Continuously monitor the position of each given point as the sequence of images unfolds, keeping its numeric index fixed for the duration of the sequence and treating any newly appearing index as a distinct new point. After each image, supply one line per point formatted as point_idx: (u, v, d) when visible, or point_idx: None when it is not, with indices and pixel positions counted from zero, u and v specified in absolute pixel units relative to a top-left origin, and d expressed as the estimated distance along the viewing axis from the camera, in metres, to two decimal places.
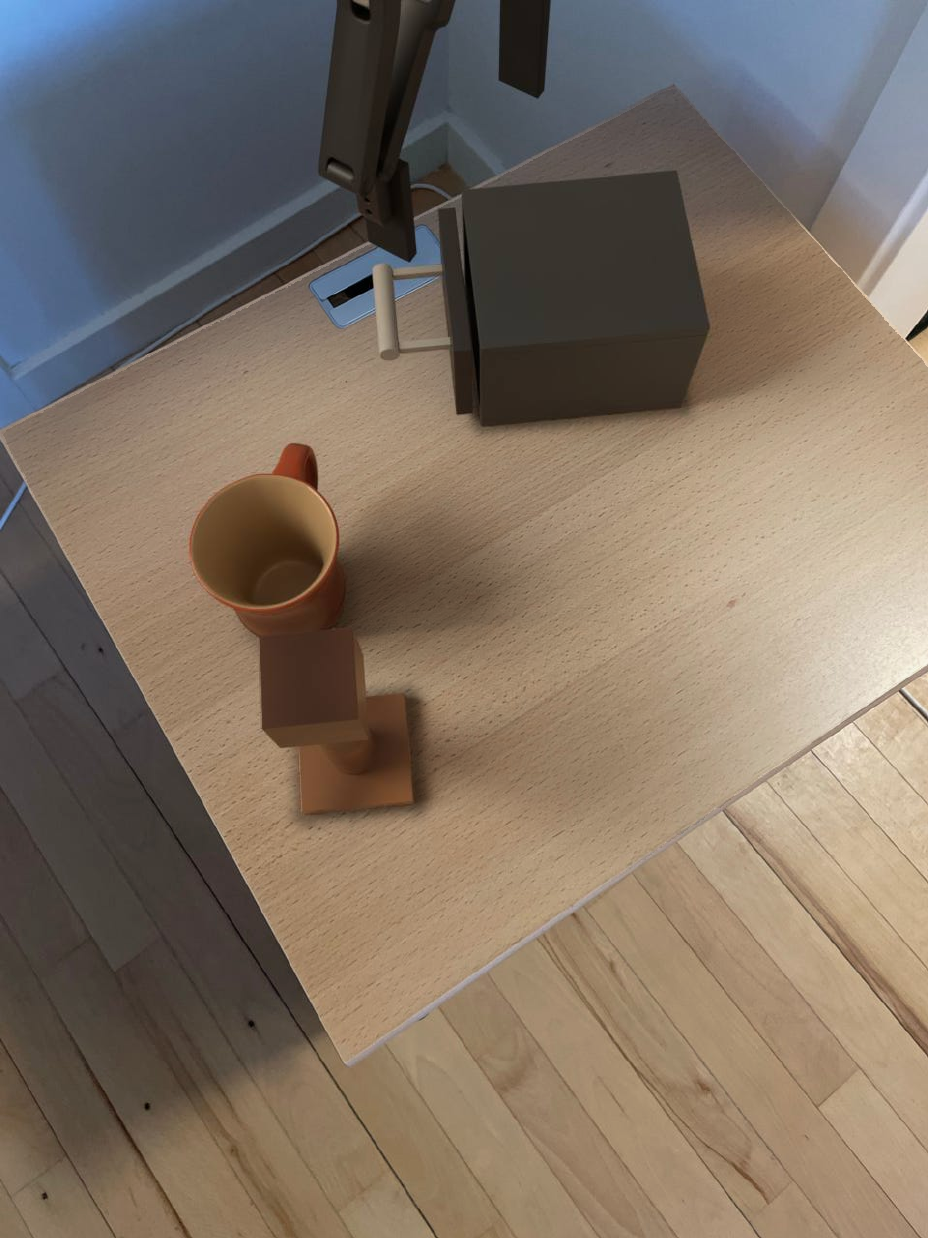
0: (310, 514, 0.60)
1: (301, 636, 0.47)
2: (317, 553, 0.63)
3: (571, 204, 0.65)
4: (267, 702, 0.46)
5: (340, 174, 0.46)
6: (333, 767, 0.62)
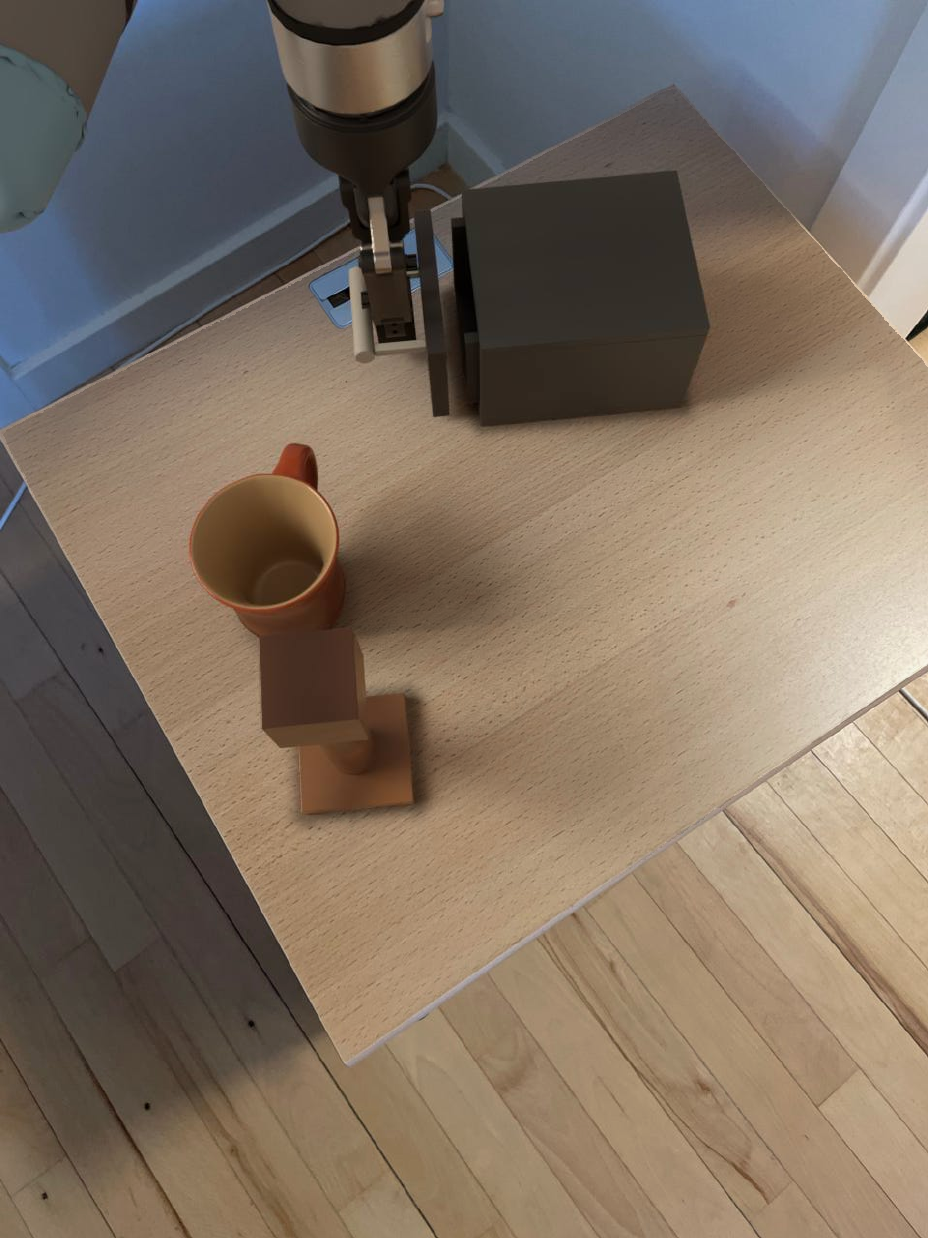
0: (310, 514, 0.60)
1: (301, 636, 0.47)
2: (317, 553, 0.63)
3: (571, 204, 0.65)
4: (267, 702, 0.46)
5: None
6: (333, 767, 0.62)
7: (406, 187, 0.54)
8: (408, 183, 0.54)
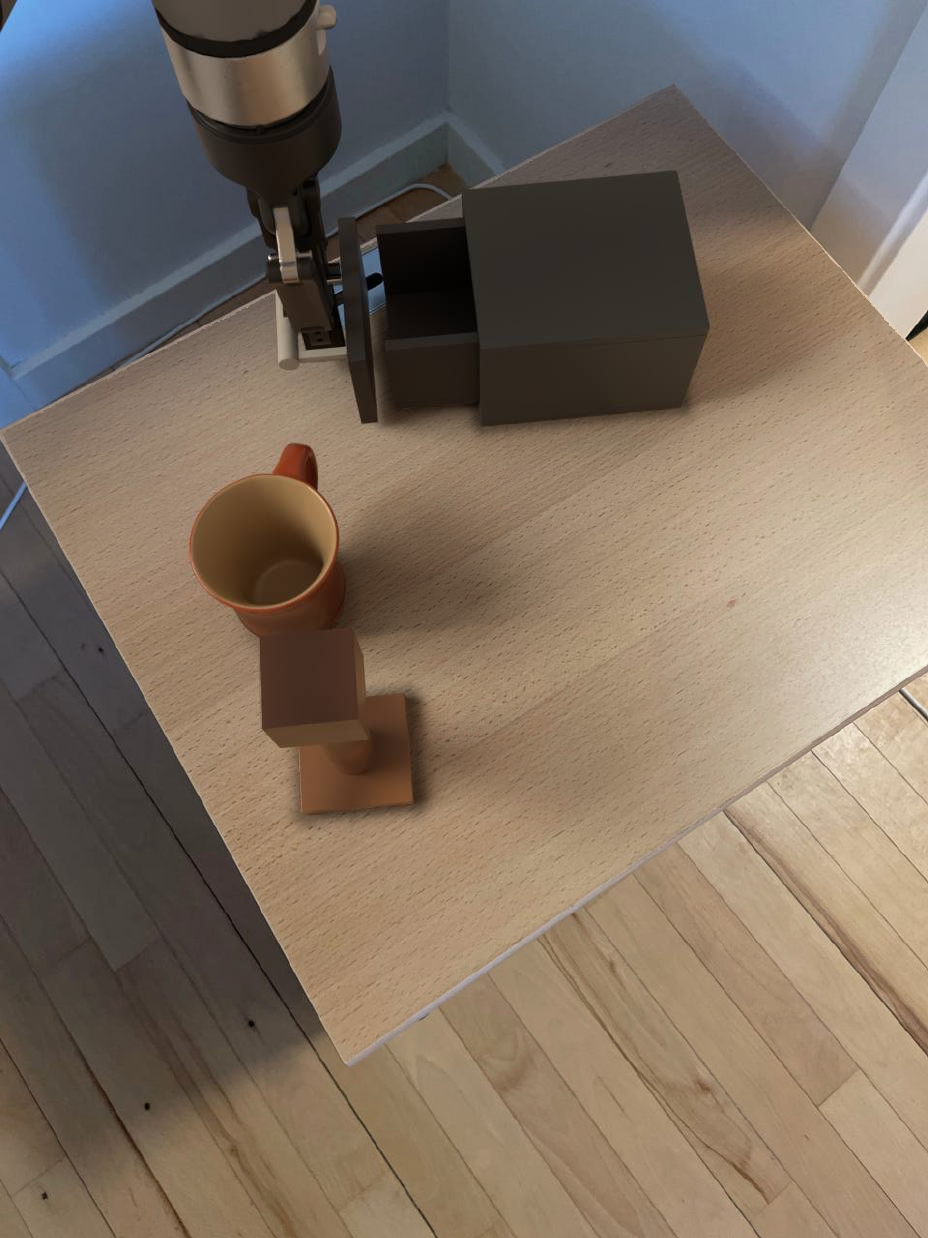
0: (310, 514, 0.60)
1: (301, 636, 0.47)
2: (317, 553, 0.63)
3: (571, 204, 0.65)
4: (267, 702, 0.46)
5: None
6: (333, 767, 0.62)
7: (314, 197, 0.54)
8: (316, 193, 0.54)
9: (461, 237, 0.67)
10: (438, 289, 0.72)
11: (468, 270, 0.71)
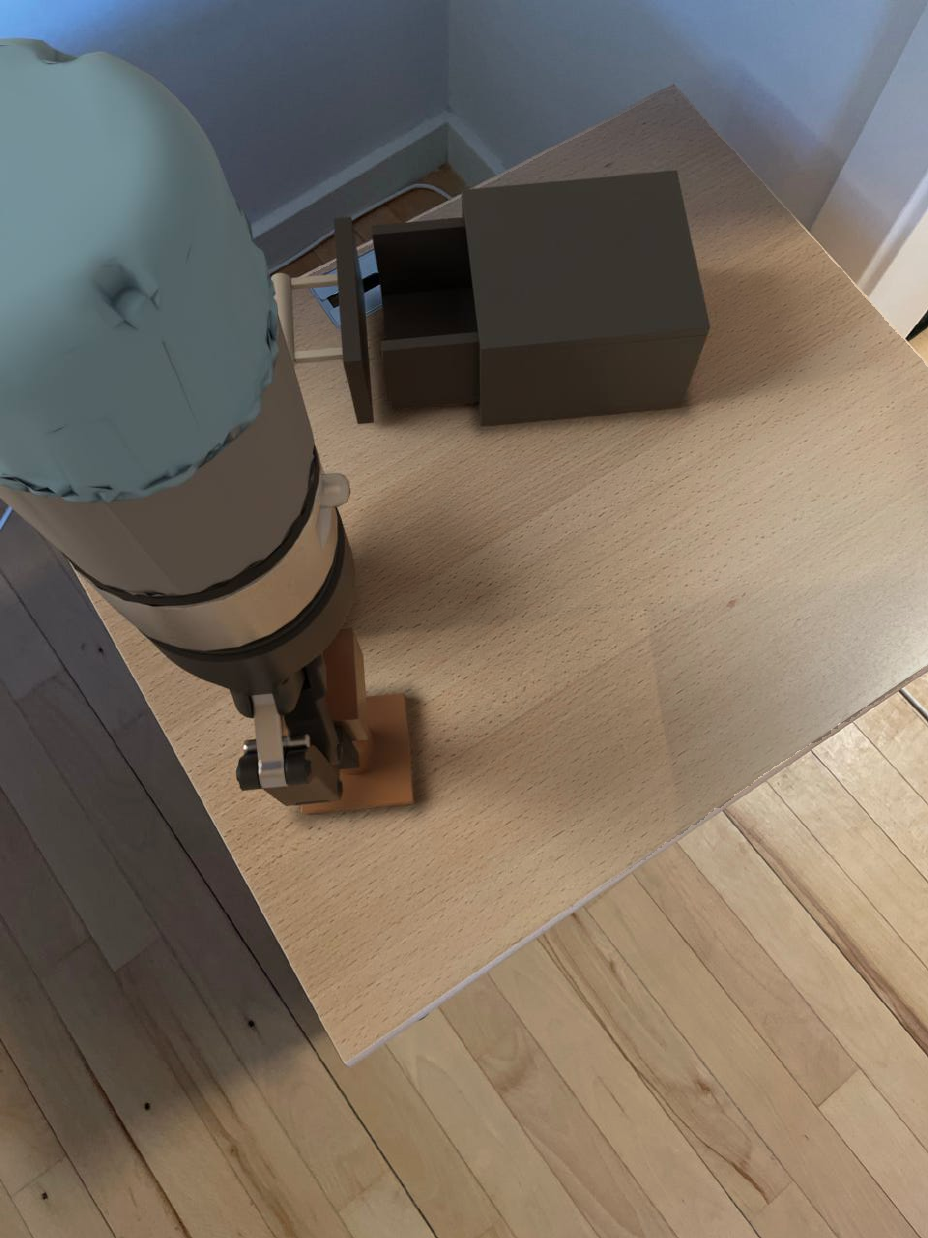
0: None
1: None
2: None
3: (571, 204, 0.65)
4: None
5: None
6: None
7: None
8: None
9: (457, 237, 0.67)
10: (434, 289, 0.72)
11: (464, 270, 0.71)
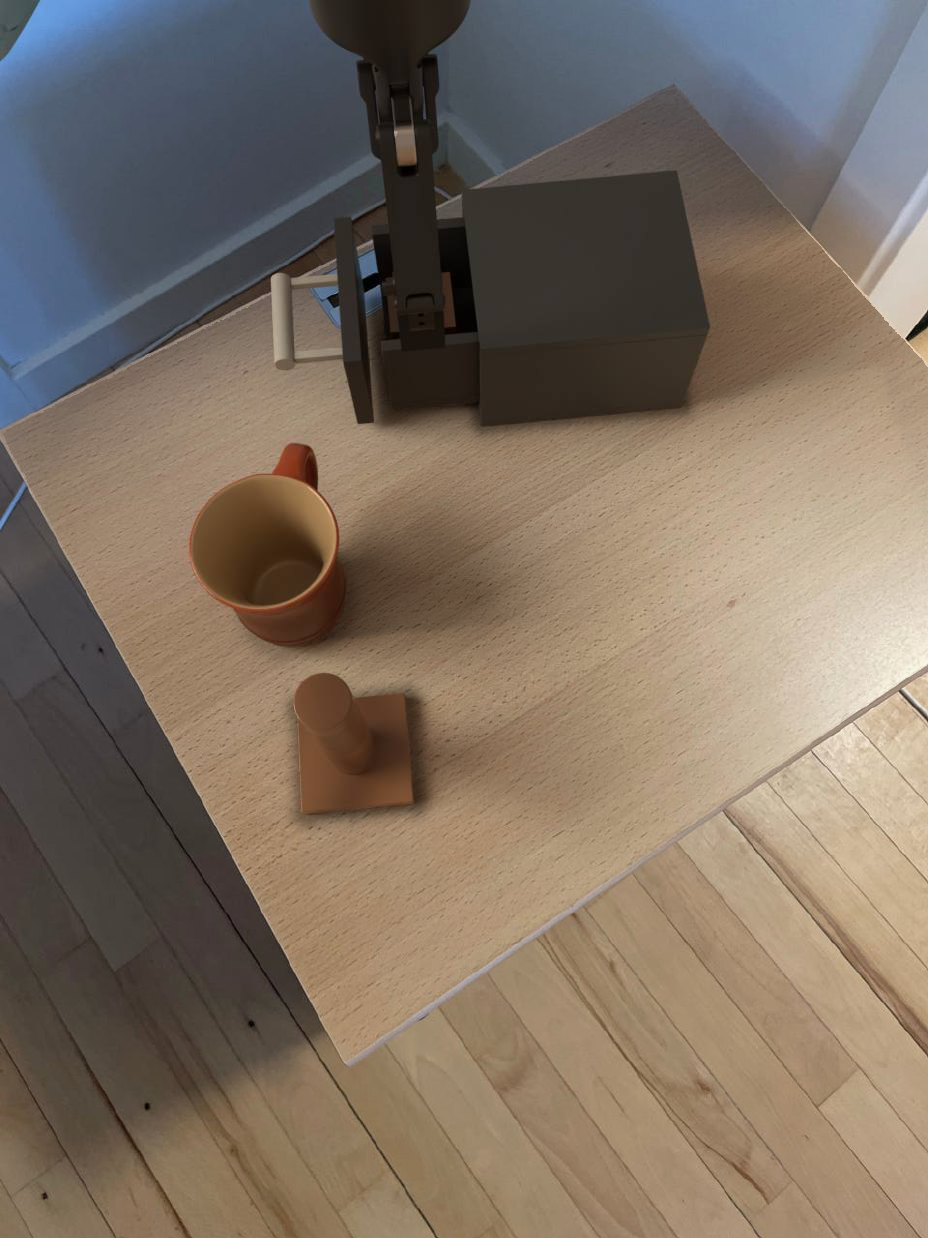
0: (310, 514, 0.60)
1: None
2: (317, 553, 0.63)
3: (571, 204, 0.65)
4: (393, 316, 0.66)
5: (420, 303, 0.52)
6: (333, 767, 0.62)
7: (433, 68, 0.48)
8: (435, 62, 0.47)
9: (457, 237, 0.67)
10: None
11: (464, 270, 0.71)
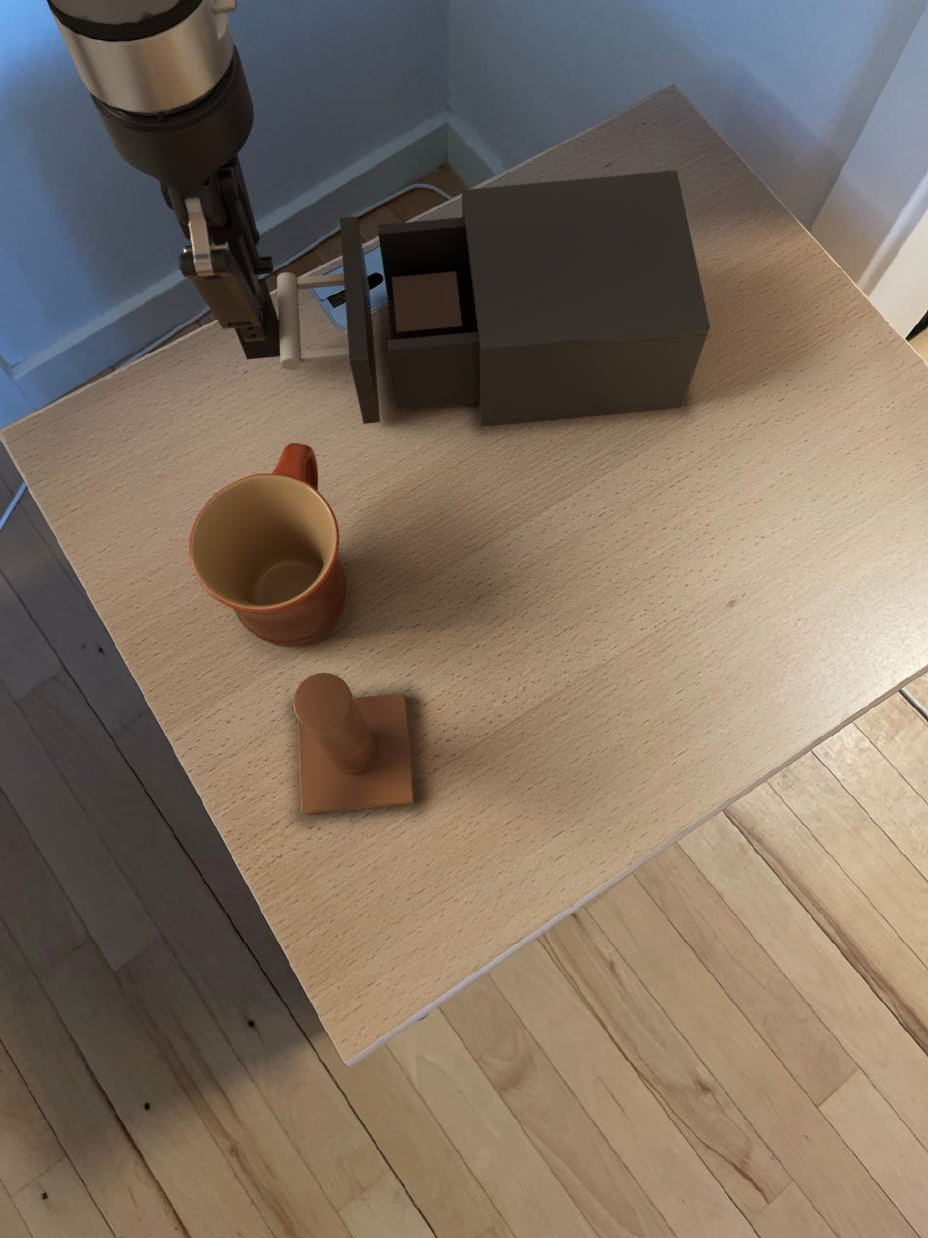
0: (310, 514, 0.60)
1: (421, 276, 0.68)
2: (317, 553, 0.63)
3: (571, 204, 0.65)
4: (399, 316, 0.66)
5: None
6: (333, 767, 0.62)
7: (230, 188, 0.53)
8: (231, 184, 0.53)
9: (463, 237, 0.67)
10: None
11: (470, 270, 0.71)
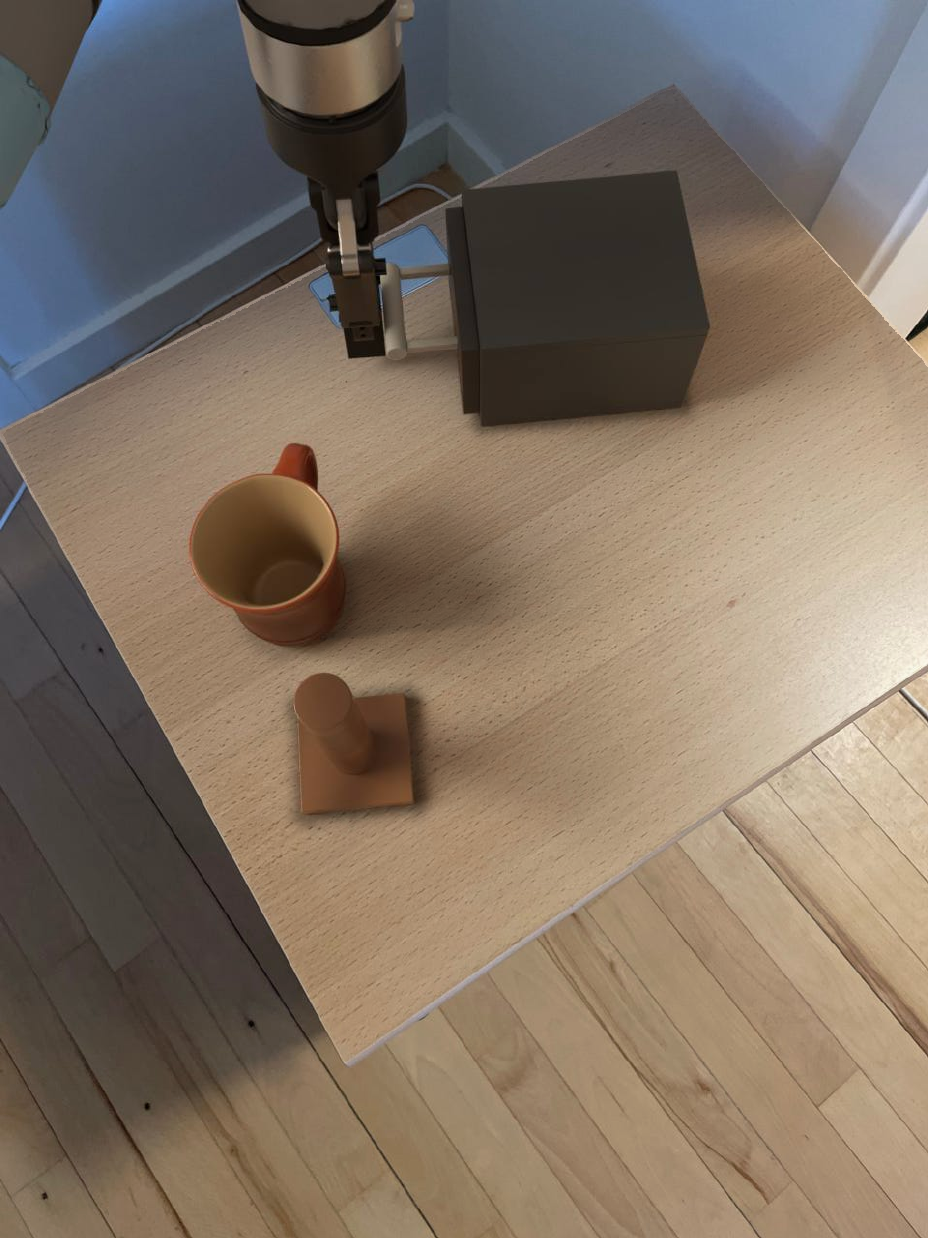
0: (310, 514, 0.60)
1: None
2: (317, 553, 0.63)
3: (571, 204, 0.65)
4: None
5: None
6: (333, 767, 0.62)
7: (375, 190, 0.54)
8: (377, 186, 0.54)
9: None
10: None
11: None
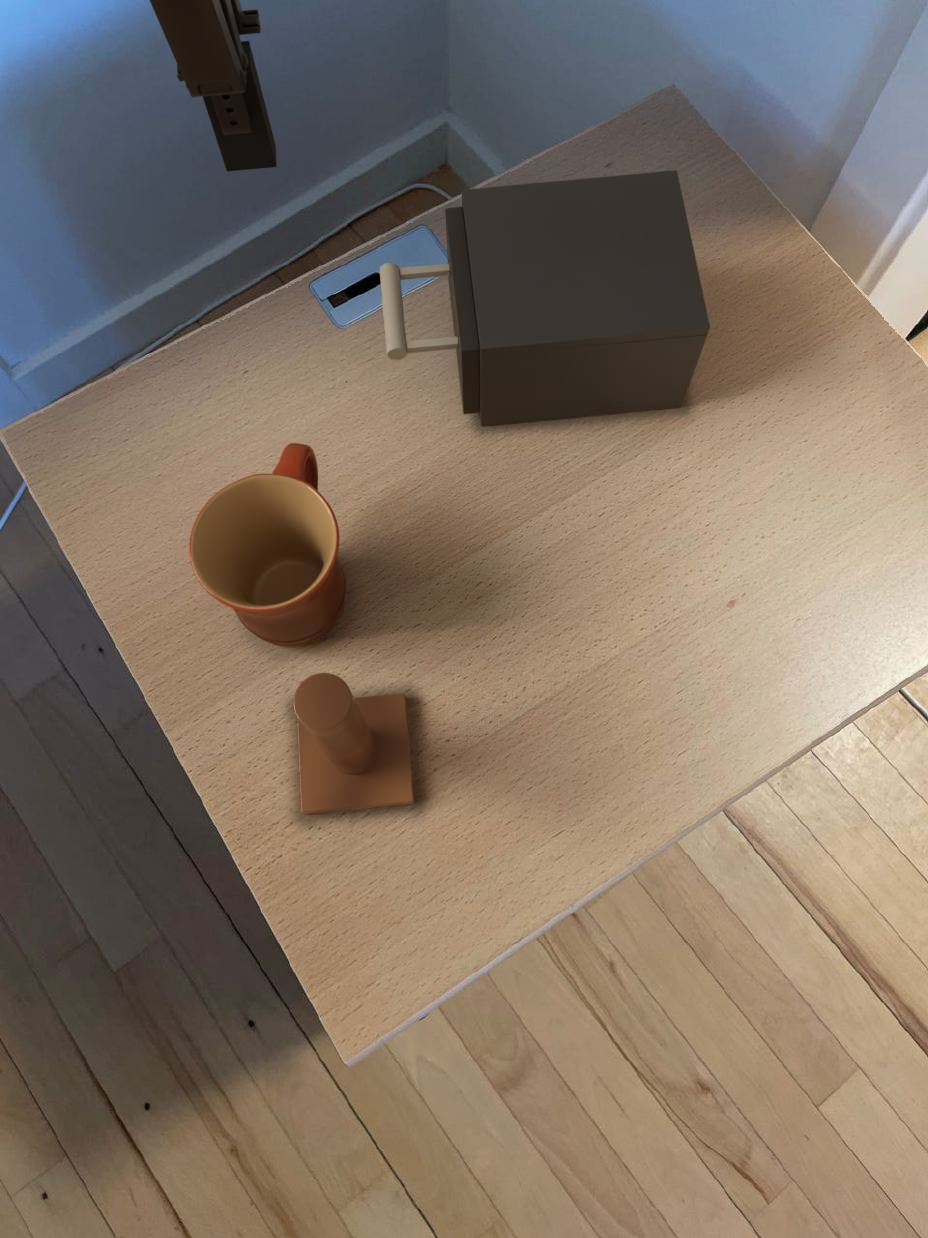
0: (310, 514, 0.60)
1: None
2: (317, 553, 0.63)
3: (571, 204, 0.65)
4: None
5: None
6: (333, 767, 0.62)
7: None
8: None
9: None
10: None
11: None
